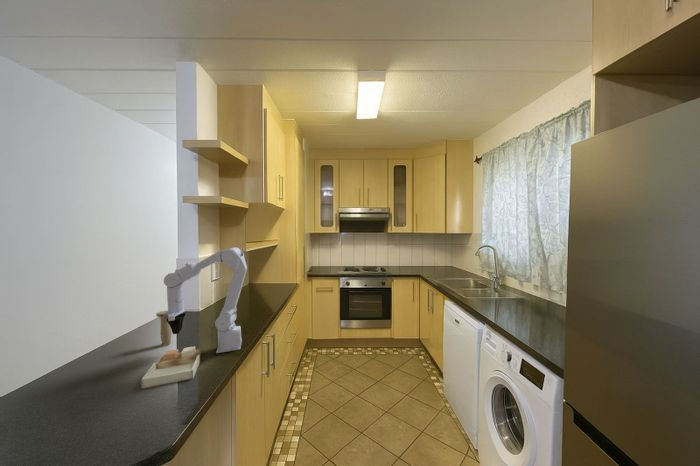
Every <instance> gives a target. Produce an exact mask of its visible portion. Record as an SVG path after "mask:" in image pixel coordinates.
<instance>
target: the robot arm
mask: <svg viewBox="0 0 700 466" xmlns="http://www.w3.org/2000/svg"><path fill="white" fill-rule="evenodd" d="M215 263H225V264H226V265H228V266H229V267H230V268H231V269H232V271H233V273H232V274H233V275H232V277H231V281H230V284H229V287H228V291H227V295H226V298H225V301H224V303H223V304H224V305H223V307H222V308H221V311H220V313H219V316H218V317H217V318H216V319H215V320H214V321H215V322H214V326H215V328H216V329H217V348H216V352H215V353H216V354H220V353H225V352H226V353H227V352H232V351H238V350H241V347H242V343H243V338H242V327H241V325H237V324H236V323H235V321H236V320H237V309H238V308H237V305H238V302H239V299H240V295H241V291H242V289H243V285H244V280H245V278H246V275H247V271H248V265H247V262H246V258H245V253H244V252H243V251H242V249H240V248H239V247H236V246H232V247H231V248H225V249H224V250H221V251H217V252H215V253H214V254H211V255H210V256H208V257H206V258H204V259H202V260H201V261H199V262H187V263H186V264H185V266H182V267H181V268H177V269H175V270H174V271H173V272H169V273H168V274H166V275H165V276H164V278H163V284H164V285H165V287H166V296H167V310H165V311H166V312H165V314H168V318H167V319H166V321H167V322H168V324H169V325H170V327H171V334H172V335H177V334H180V331H182V329H183V324H184V323H183V322H184V320H185V316H186V314H187V313H186V309H185V301H184V299H185V298H184V295H185V294H184V283H185V282H186V281H189V280H190V279H193V278H194V277H197V276H198V275H200V273H201V271H202V270H203V269H205V268H207V267H209V266H212V265H213V264H215Z"/></svg>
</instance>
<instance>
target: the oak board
mask: <svg viewBox="0 0 700 466" xmlns="http://www.w3.org/2000/svg"><path fill="white" fill-rule="evenodd" d="M195 350H196V351H195V353H194V355H193V356H188V357H182V354H181V352H182V351H180V352H179V351H178V353H179V354H178V356H177V357H176V359H170V360H165V361H163V355H162V357H161V358H160V359H159V360H158V361H157V362H156V367H157V369H160V368H166V367H171V366H177V365H182V364H188V363H193V362H195V360H196V358H197V356H198V355H200V356H201V355H202V354H201V352H202V351H201V348H197V349H196V348H195Z"/></svg>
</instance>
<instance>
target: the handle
mask: <svg viewBox="0 0 700 466" xmlns="http://www.w3.org/2000/svg"><path fill="white" fill-rule="evenodd" d="M166 311H167V310H162V311H161V310H160V311H158V312H156V313H155V315H156V318H157V317H158V318H159V319H160V341H161V345H162V346H164V347H165V346H168V345H170V344H171V342H172V330H171V327H170V325H169V324H168V322H167V321H166V319H167V318H168V314H165V312H166Z"/></svg>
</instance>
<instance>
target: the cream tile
mask: <svg viewBox="0 0 700 466" xmlns="http://www.w3.org/2000/svg"><path fill="white" fill-rule="evenodd" d="M195 351H196V346H189V347H184V348H183V349H182V351H180V352H181V354H182V357H188V356H193V355H194V353H195Z"/></svg>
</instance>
